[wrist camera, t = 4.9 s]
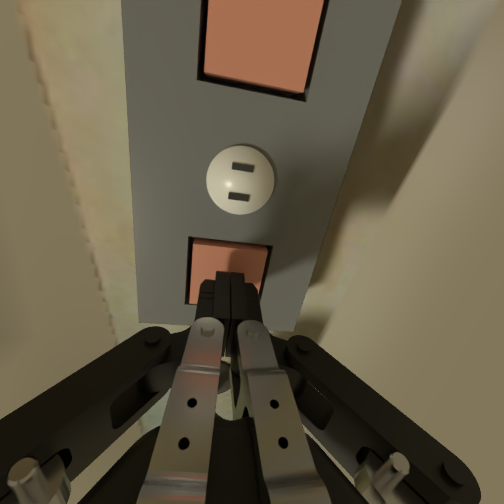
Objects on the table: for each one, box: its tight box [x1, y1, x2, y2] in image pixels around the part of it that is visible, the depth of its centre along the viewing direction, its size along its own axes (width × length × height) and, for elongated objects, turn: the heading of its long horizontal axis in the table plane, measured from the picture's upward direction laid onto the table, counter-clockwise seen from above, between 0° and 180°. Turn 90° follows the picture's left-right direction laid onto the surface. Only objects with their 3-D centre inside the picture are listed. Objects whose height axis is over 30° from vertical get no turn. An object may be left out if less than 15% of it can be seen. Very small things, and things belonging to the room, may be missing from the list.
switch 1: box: [204, 0, 324, 96], centre depth 10 cm, size 4×4×2 cm
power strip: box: [121, 0, 402, 332], centre depth 12 cm, size 24×10×4 cm, turn 171°
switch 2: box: [189, 237, 268, 304], centre depth 16 cm, size 4×4×2 cm
